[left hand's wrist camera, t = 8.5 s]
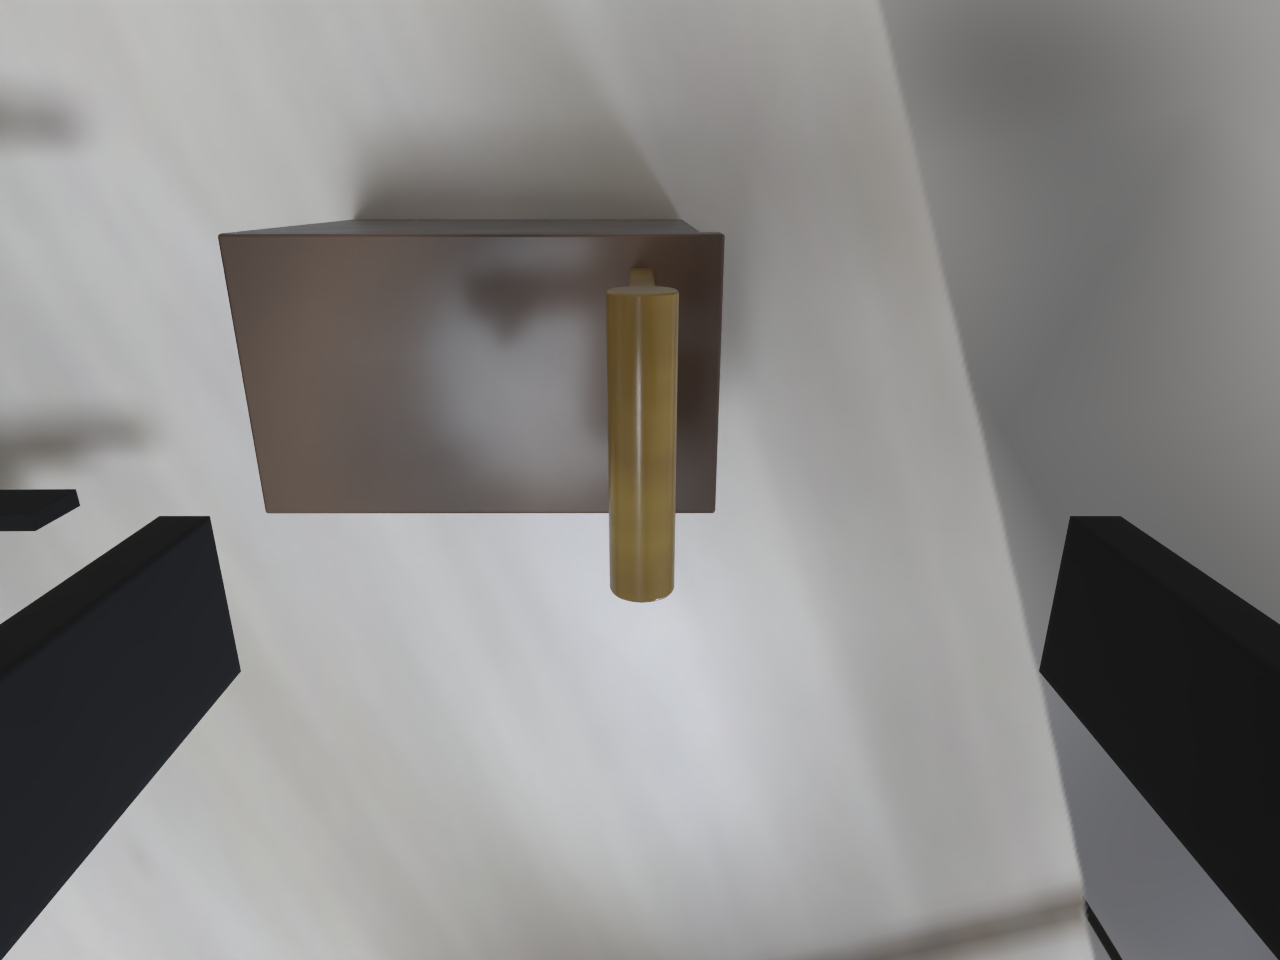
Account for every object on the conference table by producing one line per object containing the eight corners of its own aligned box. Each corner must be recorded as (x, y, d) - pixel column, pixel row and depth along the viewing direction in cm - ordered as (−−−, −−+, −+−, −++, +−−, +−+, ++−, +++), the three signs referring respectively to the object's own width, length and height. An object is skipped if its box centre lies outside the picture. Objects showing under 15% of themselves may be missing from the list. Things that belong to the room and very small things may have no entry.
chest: (682, 219, 36) (701, 231, 25) (679, 418, 39) (694, 502, 28) (351, 219, 36) (233, 232, 25) (375, 418, 39) (278, 502, 28)
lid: (721, 232, 25) (763, 253, 17) (712, 502, 28) (743, 633, 20) (232, 232, 25) (30, 252, 17) (278, 502, 28) (127, 634, 20)
